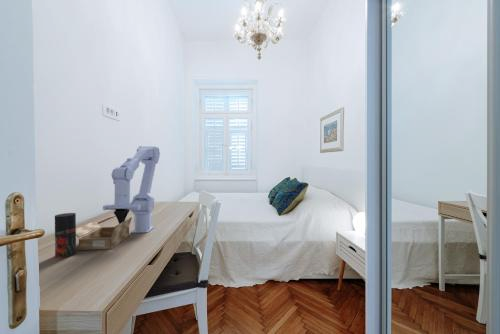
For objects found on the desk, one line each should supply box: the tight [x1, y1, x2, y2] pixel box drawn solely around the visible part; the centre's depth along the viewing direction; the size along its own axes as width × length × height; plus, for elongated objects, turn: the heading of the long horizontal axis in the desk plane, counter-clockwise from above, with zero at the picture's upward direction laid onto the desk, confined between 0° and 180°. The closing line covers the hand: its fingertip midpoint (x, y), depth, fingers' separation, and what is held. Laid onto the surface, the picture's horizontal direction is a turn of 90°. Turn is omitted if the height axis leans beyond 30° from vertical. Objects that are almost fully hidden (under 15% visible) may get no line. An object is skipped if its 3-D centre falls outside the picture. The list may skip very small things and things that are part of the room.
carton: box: [78, 225, 130, 251], centre depth 94 cm, size 17×12×4 cm
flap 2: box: [112, 216, 133, 236], centre depth 94 cm, size 15×1×4 cm, turn 6°
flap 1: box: [76, 220, 102, 239], centre depth 93 cm, size 15×1×4 cm
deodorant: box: [54, 212, 77, 259], centre depth 81 cm, size 6×6×15 cm
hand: (121, 226), depth 94 cm, fingers closed, pressing on flap 2
